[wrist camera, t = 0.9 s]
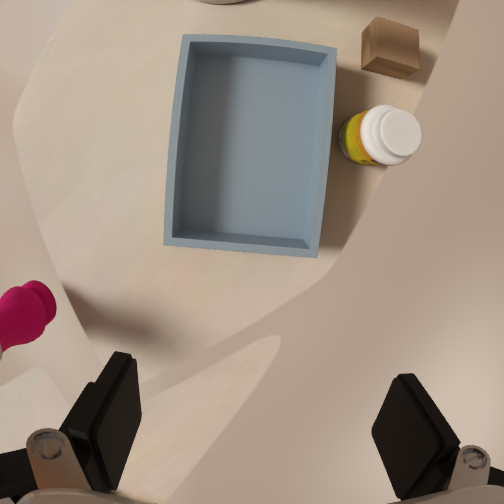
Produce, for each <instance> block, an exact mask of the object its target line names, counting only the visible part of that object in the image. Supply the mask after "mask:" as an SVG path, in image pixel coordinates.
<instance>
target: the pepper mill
mask: <svg viewBox="0 0 504 504" xmlns="http://www.w3.org/2000/svg"><path fill="white" fill-rule="evenodd" d="M55 315H56V302H55V298H54V296H53V294H52V293H51V291H50V290H49V288H48V287H47V286H46V285H44V284H43V283H41V282H39V281H35V280H34V281H33V280H32V281H29V282H27V283H26V284H24V285H23V286H21V287H19V286H18V287H17V286H16V287H13V288H10V289H9V290H8V291H7V292H5V293H4V294H3V296H2V297H1V298H0V360H1V358H2V353H3V352H4V351H5V350H7V349H8V348H9V347H12V346H15V345H20V344H26V343H29V342H32V341H34V340H35V339H37V338H38V337H40V335H42V333H43V331H44V329H45V326H46V325H47V324H48V323H50V322H51V321H52V320H53V319H54V317H55Z"/></svg>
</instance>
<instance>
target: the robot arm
mask: <svg viewBox="0 0 504 504" xmlns="http://www.w3.org/2000/svg"><path fill="white" fill-rule="evenodd" d="M198 1H201V2H206V3H212V4H228V3H236V2H241V1H244V0H198ZM141 417H142V412H141V403H140V395H139V384H138V372H137V361H136V359H133V358H132V356H131V354H128V353H123V352H117V351H115V352H114V353H113V355H112V356H111V358H110V359H109V361H108V363H107V364H106V366H105V367H104V369H103V371H102V372H101V374H100V375H99V377H98V379H97V380H96V382H95V383H94V382H89V383H88V384H87V385H86V387H85V388H84V390H83V391H82V393H81V394H80V396H79V398H78V399H77V401H76V402H75V404H74V406H73V407H72V409H71V410H70V412H69V414H68V415H67V417H66V419H65V420H64V422H63V424H62V425H61V427H60V428H59V430H56V429H51V428H44V429H40V430H37V431H35V432H34V433H32V434H31V435H30V436H29V437H28V439H27V442H26V448H24V449H20V450H16V451H11V452H7V453H2V454H0V504H156V503H150V502H145V501H140V500H135V499H131V498H126V497H121V496H116V495H112V494H110V493H111V490H114V491H115V490H116V489H117V487H118V485H119V482H120V479H121V476H122V473H123V470H124V467H125V464H126V461H127V458H128V456H129V453H130V450H131V447H132V444H133V441H134V439H135V436H136V433H137V430H138V428H139V425H140V422H141ZM372 437H373V439H374V442H375V444H376V447H377V449H378V452H379V454H380V456H381V459H382V461H383V464H384V466H385V469H386V471H387V474H388V477H389V479H390V482H391V484H392V487H393V489H394V492H395V494H396V497H397V498H398V499H401V501H399V502H394V503H389V504H504V471H502V470H499V469H496V468H494V467H491V466H490V457H489V455H488V454H487V452H486V451H485V450H483V449H482V448H480V447H478V446H475V445H467V446H464V447H462V449H460V448H459V444H460V443H461V442H460V441H459V439H458V437H457V436H456V434H455V433H454V431H453V430H452V428H451V427H450V425H449V424H448V422H447V421H446V419H445V418H444V416H443V415H442V413H441V412H440V410H439V409H438V407H437V406H436V404H435V403H434V401H433V400H432V399H431V397H430V396H429V394H428V393H427V391H426V390H425V389H424V387H423V386H422V384H421V383H420V382H419V380H418V379H417V377H416V376H415V375H414V374H412V373H409V374H399V375H398V376H397V378H394V379H393V381H392V384H391V386H390V388H389V391H388V393H387V395H386V398H385V400H384V402H383V405H382V407H381V409H380V411H379V414H378V416H377V418H376V420H375V422H374V425H373V427H372Z"/></svg>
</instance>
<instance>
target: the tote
mask: <svg viewBox="0 0 504 504" xmlns="http://www.w3.org/2000/svg"><path fill="white" fill-rule="evenodd" d="M336 55H337V48H332V47H327V46H322V45H316V44H310V43H303V42H297V41H289V40H281V39H272V38H262V37H251V36H235V35H206V34H187V35H183V37H182V43H181V50H180V56H179V63H178V70H177V77H176V85H175V93H174V101H173V110H172V119H171V129H170V139H169V151H168V163H167V177H166V193H165V213H164V241H163V245H167V246H179V247H190V248H202V249H214V250H226V251H238V252H250V253H261V254H273V255H285V256H297V257H309V258H317V255H318V248H319V241H320V234H321V226H322V218H323V210H324V202H325V193H326V184H327V175H328V165H329V155H330V144H331V133H332V120H333V107H334V92H335V75H336Z"/></svg>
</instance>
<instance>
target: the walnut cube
mask: <svg viewBox="0 0 504 504" xmlns="http://www.w3.org/2000/svg"><path fill="white" fill-rule="evenodd" d="M361 69H363V70H367V71H371V72H375V73H379V74H383V75H387V76H390V77H394V78H398V79H402V78H404V77H406V76H408V75H410V74H412V73H414V72H416V71H418V70H420V52H419V32H418V30H417V29H414V28H411V27H408V26H405V25H402V24H399V23H396V22H393V21H390V20H386V19H383V18H380V17H376V18H375V19H374V20H373V21H372V22H371V23H370V24H369V25H368V26H367V27H366V29H365V30H364V31H363V32H362V55H361Z"/></svg>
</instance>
